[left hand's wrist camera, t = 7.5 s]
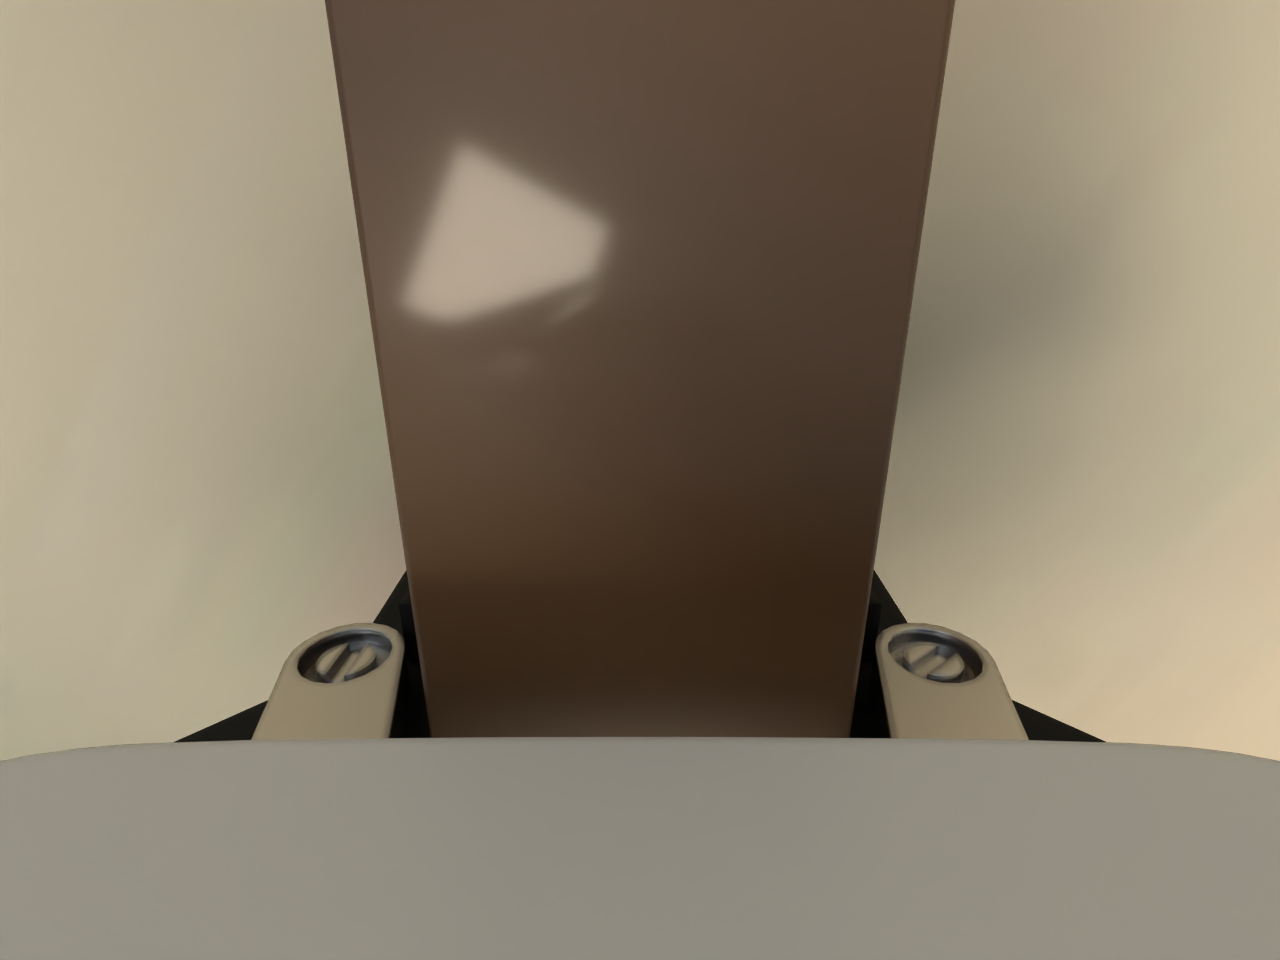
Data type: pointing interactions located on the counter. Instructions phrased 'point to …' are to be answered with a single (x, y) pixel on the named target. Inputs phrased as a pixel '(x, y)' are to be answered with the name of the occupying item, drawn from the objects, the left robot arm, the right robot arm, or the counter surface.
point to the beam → (640, 343)
